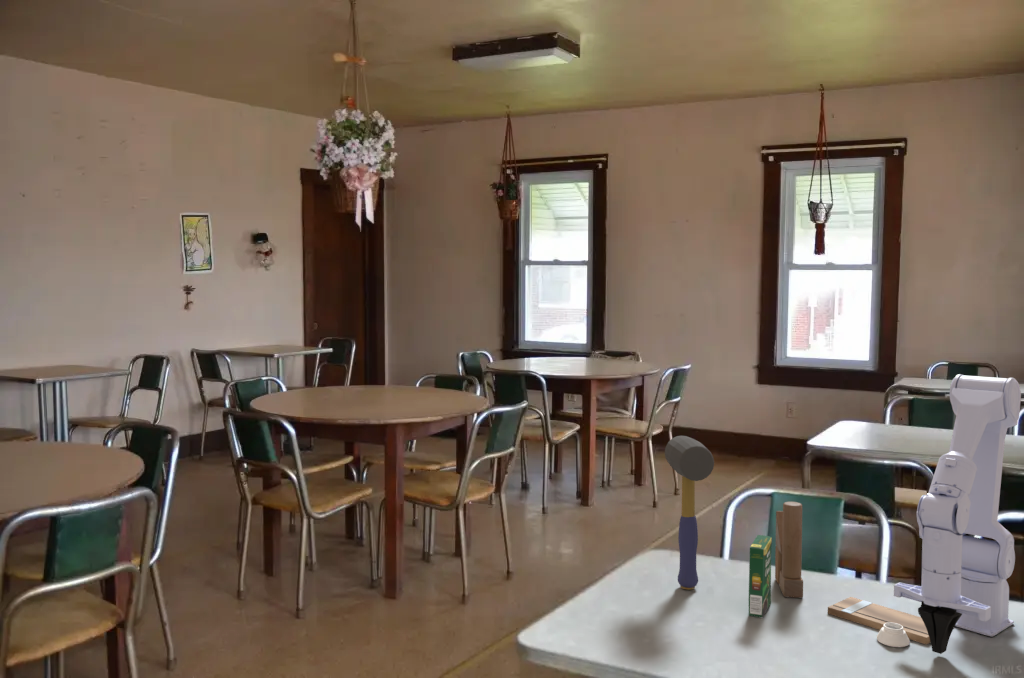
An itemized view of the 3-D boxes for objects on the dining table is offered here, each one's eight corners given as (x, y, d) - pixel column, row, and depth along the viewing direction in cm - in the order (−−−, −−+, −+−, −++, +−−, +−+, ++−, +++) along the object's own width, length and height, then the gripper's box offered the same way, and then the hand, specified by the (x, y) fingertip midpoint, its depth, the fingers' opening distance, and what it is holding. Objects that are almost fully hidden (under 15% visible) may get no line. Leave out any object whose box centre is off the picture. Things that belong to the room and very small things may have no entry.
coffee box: (763, 619, 156) (764, 547, 155) (747, 616, 157) (748, 545, 157) (771, 604, 163) (772, 535, 162) (756, 601, 165) (757, 534, 164)
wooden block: (793, 579, 177) (794, 492, 176) (803, 598, 166) (804, 506, 165) (774, 579, 177) (775, 492, 176) (783, 598, 167) (784, 505, 165)
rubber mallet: (661, 578, 178) (662, 433, 176) (697, 577, 179) (698, 432, 177) (677, 600, 166) (678, 445, 164) (716, 598, 166) (717, 444, 164)
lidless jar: (875, 635, 149) (878, 647, 144) (875, 618, 149) (878, 630, 144) (907, 638, 148) (911, 650, 143) (907, 621, 147) (911, 633, 143)
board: (850, 602, 164) (850, 596, 164) (948, 632, 150) (948, 624, 150) (827, 613, 159) (827, 606, 159) (926, 644, 145) (926, 637, 145)
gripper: (885, 562, 142) (883, 643, 143) (978, 586, 131) (975, 673, 132) (906, 553, 147) (904, 632, 148) (997, 575, 136) (994, 660, 137)
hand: (939, 651), depth 140 cm, fingers closed
